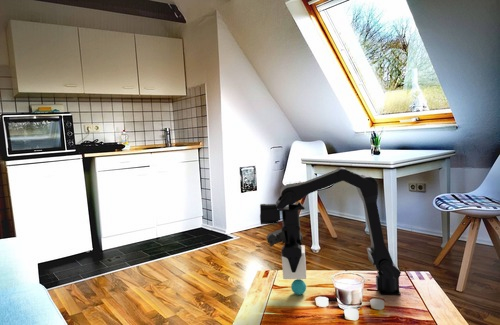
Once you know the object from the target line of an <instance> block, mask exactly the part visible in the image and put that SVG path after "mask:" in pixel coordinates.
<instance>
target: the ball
mask: <svg viewBox="0 0 500 325" xmlns="http://www.w3.org/2000/svg"><path fill="white" fill-rule="evenodd" d="M290 288H291V291H292V293H294V294H295V295H299V296H300V295H303V294H304V293H305V292H306V290H307V284H306V282H305V281H304V280H303V279H293V280H292V283H291V287H290Z"/></svg>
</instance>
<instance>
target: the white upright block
mask: <svg viewBox="0 0 500 325" xmlns="http://www.w3.org/2000/svg"><path fill="white" fill-rule="evenodd" d="M300 246H301V247H302V256H301V258H300V261H299V264H298V266H297V269H296V272H294V273H293V272H292V270H291V267H290V264H289V261H288V259H287V258H286V257H283V256H282V255H281V264H282V265H281V266H282V279H283V280H297V279H300V280H307V261H306V247H305V246H306V245H300Z"/></svg>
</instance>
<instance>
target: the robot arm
mask: <svg viewBox="0 0 500 325" xmlns="http://www.w3.org/2000/svg"><path fill="white" fill-rule="evenodd" d="M340 182H341V183H342V182H345V183H347V184H350V185H352V186H354V187H355V188H356V190H357V193H358V195H359V197H360V199H361V201H362V204H363V208H364V214H365V219H366V223H367V224H366V225H367V230H368V233H369V238H370V239H369V240H370V247H365V249H366V252H367V255H368V256H367V259H368V260H369V262H370V263H371V265H372V266H373V267H375V269H376V270H377V272H376V273H377V275H375V287H376V290H377V291H378V292H379V295H381V296H383V295H384V296H386V295H387V296H389V295H390V296H393V295H395V296H398V295H399V296H400V295H401V294H402V292H401V291H400V277H401V274H402V272H401V270H400V269H399V268H398V266H396V264H395V263H394V261H393V258H392V256H391V254H390V251H389V249H388V247H387V246H386V243H385V239H384V233H383V227H382V223H381V218H380V214H379V207H378V197H379V184H378V181H377V180H376V178H374V177H372V176H370V175H368V174H358V173H356V172H353V171H351V170H348V169H347V168H345V167H338V168H336V169H334V170H331V171H329V172H327V173H325V174H321V175H319V176H317V177H313V178H312V179H311V178H310V179H309V180H306V181H303V182H294V183H288V184H285V185H283V186H282V188H281V189H280V195H279V196H278V199H276V202H275V203H260V205H259V208H260V214H259V221H260V222H259V223H260V225H262V226H263V225H276V224H277V225H278V223H279V222H280V221H281V219H282V226H281V228H280V229H277V230H275V231H272V232H270V233H267V235H266V240H267V244H269V246H270V247H273V246H275V245H276V244H279V243H282V244H284V245H283V246H282V247H281V257H282V256H283V257H286V258H287V259H288V261H289V264H290V267H291V270H292V272H293V273H294V272H296V269H297V266H298V264H299V261H300V258H301V256H302V247H301V246H300V245H302V244H303V233H302V232H301V222H300V218H301V217H300V211H302V210H305V209H306V208H305V205H304V204H302V203H301V202H300V201H301V200H303V199H304V198H305V197H307V196H308V195H309V194H312V193H314V192H315V193H316V192H317V191H319V190H322V189H325V188H327V187H330V186H333V185H335V184H338V183H340ZM281 215H282V216H281ZM281 217H282V218H281Z"/></svg>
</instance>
